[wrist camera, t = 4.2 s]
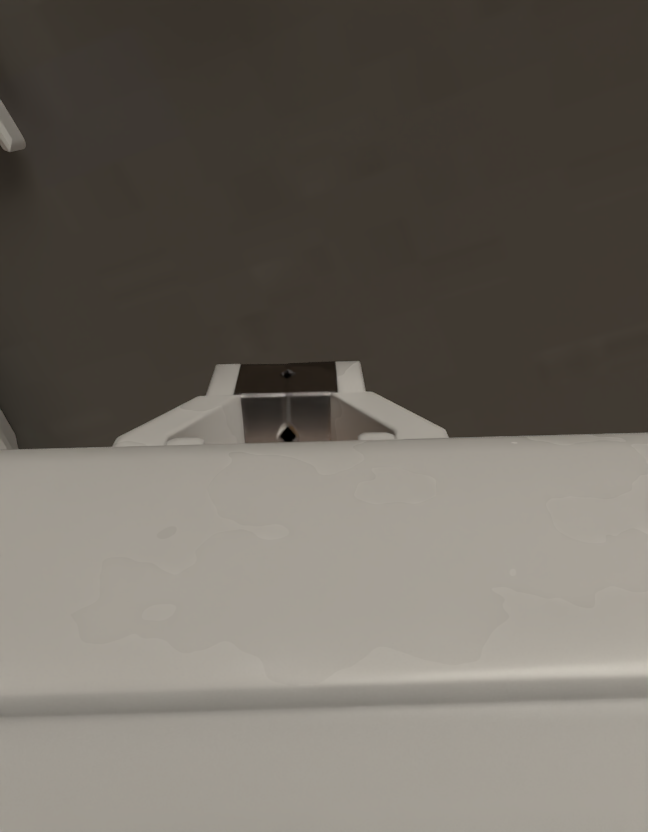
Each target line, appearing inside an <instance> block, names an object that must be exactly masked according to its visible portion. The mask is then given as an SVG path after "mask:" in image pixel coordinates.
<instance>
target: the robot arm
mask: <svg viewBox="0 0 648 832" xmlns="http://www.w3.org/2000/svg"><path fill="white" fill-rule="evenodd" d="M0 832H648V433H615V434H577V435H539V436H501V437H462V438H449V437H448V435H447V432H446V430H445V429H443V428H441V427H439V426H438V425H436V424H434V423H432V422H430V421H428V420H426V419H424V418H422V417H420V416H418V415H416V414H414V413H412V412H410V411H408V410H406V409H405V408H403V407H401V406H399V405H397V404H395V403H393V402H391V401H389V400H387V399H385V398H383V397H381V396H379V395H377V394H375V393H373V392H366V391H365V385H364V380H363V375H362V370H361V365H360V362H359V361H345V362H335V361H331V362H309V363H288V364H222V365H216V366H215V369H214V372H213V375H212V378H211V381H210V384H209V387H208V390H207V393H206V396H198V397H196V398H194V399H192V400H190V401H188V402H186V403H184V404H182V405H180V406H178V407H176V408H174V409H173V410H171V411H169V412H167V413H165V414H163V415H161V416H159V417H157V418H155V419H153V420H151V421H149V422H147V423H145V424H143V425H141V426H139V427H137V428H135V429H133V430H131V431H129V432H127V433H125V434H123V435H121V436H119V437H117V439H116V440H115V442H114V444H113V446H112V447H90V448H53V449H15V450H0Z"/></svg>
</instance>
